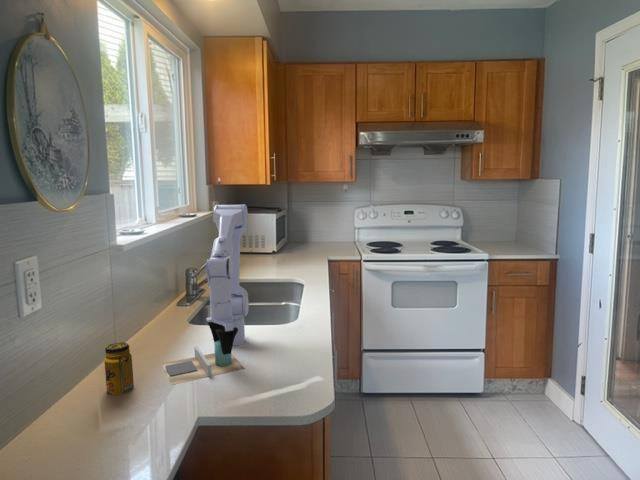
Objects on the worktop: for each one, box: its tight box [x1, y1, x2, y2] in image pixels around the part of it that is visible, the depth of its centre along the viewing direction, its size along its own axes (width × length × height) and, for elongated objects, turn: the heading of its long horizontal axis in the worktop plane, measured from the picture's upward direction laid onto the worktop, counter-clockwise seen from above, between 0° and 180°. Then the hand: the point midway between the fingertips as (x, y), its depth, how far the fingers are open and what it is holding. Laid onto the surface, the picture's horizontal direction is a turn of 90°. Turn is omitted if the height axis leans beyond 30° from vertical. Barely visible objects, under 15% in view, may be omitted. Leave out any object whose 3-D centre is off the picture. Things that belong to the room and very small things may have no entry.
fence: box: [194, 346, 212, 378], centre depth 121 cm, size 15×1×3 cm, turn 28°
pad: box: [165, 361, 197, 377], centre depth 119 cm, size 7×7×1 cm
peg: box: [213, 340, 232, 366], centre depth 122 cm, size 4×4×6 cm
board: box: [161, 352, 246, 386], centre depth 121 cm, size 15×19×1 cm
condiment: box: [103, 341, 135, 396], centre depth 108 cm, size 7×8×12 cm
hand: (222, 349), depth 122 cm, fingers open, 7 cm apart
